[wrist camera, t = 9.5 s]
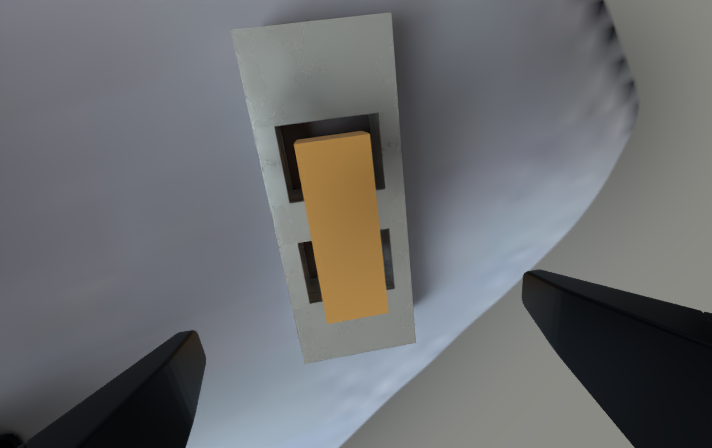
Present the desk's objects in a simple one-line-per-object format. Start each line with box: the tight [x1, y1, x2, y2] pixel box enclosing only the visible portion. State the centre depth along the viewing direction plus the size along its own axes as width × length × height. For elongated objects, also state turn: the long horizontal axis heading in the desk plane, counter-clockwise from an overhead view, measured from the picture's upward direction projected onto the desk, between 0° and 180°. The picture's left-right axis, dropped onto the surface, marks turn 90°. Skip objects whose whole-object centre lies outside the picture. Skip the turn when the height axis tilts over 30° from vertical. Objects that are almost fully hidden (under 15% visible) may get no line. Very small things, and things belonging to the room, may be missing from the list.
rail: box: [231, 12, 416, 364], centre depth 19 cm, size 18×7×3 cm, turn 7°
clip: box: [294, 131, 389, 324], centre depth 17 cm, size 8×3×6 cm, turn 7°
